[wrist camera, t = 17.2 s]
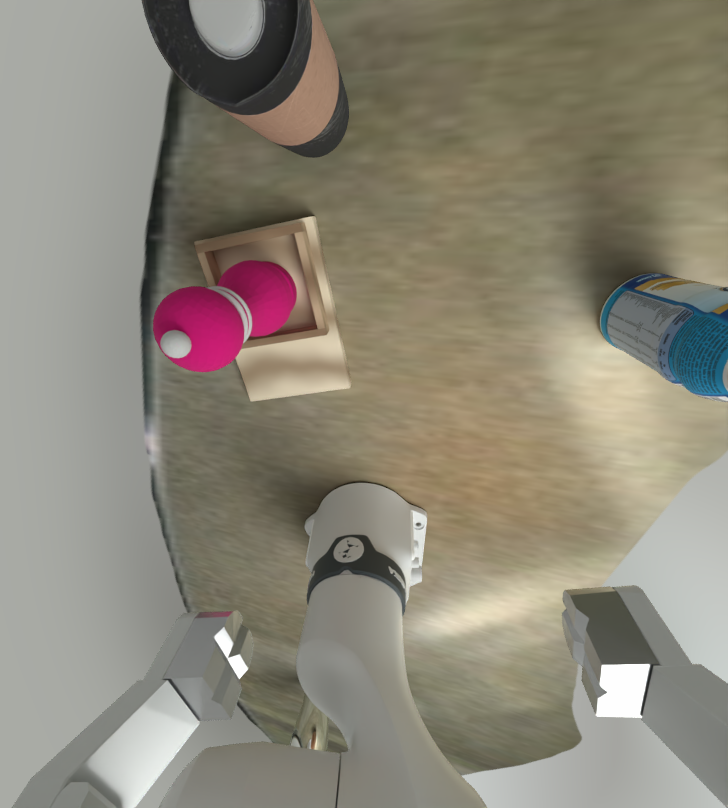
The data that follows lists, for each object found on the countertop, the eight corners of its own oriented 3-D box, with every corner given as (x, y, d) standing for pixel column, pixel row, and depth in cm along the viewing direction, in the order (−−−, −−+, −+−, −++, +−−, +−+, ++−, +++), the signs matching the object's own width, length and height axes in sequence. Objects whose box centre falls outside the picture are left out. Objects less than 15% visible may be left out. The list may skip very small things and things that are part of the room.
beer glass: (342, 684, 78) (331, 780, 64) (320, 694, 80) (304, 789, 67) (318, 668, 76) (301, 764, 62) (296, 679, 78) (275, 774, 65)
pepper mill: (228, 305, 42) (102, 369, 24) (249, 243, 38) (121, 264, 21) (287, 335, 43) (207, 418, 25) (312, 277, 40) (241, 325, 22)
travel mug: (324, 36, 32) (232, -192, 14) (367, 130, 35) (335, 38, 17) (254, 93, 34) (98, -43, 16) (300, 178, 37) (209, 140, 19)
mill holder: (351, 382, 46) (348, 394, 43) (255, 396, 48) (245, 408, 45) (315, 216, 38) (307, 216, 35) (200, 240, 40) (184, 242, 37)
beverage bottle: (580, 310, 40) (725, 384, 23) (657, 252, 37) (897, 284, 19) (620, 364, 43) (780, 468, 25) (696, 313, 40) (942, 391, 22)
